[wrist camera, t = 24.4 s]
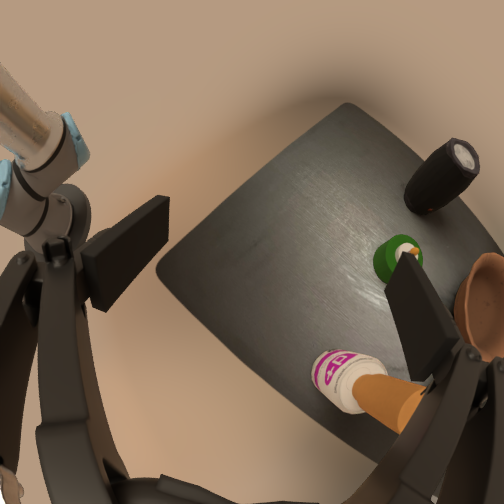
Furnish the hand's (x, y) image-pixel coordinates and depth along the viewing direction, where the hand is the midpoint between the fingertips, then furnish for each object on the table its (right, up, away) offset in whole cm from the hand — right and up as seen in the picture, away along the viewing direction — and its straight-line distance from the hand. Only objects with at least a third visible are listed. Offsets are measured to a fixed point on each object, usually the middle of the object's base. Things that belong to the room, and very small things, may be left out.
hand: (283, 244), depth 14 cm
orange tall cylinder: (+12, -17, +15) cm, 26 cm away
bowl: (+46, -14, +31) cm, 57 cm away
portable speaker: (+35, +11, +38) cm, 53 cm away
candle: (+25, -3, +34) cm, 43 cm away
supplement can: (+13, -21, +29) cm, 38 cm away
